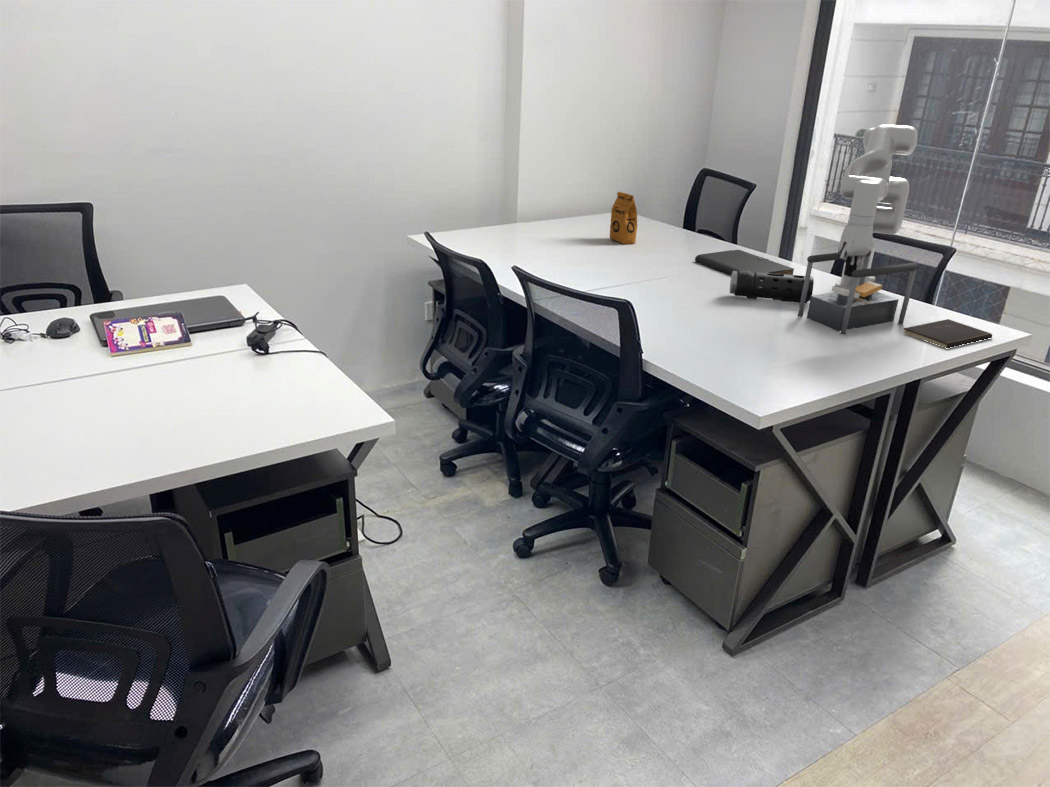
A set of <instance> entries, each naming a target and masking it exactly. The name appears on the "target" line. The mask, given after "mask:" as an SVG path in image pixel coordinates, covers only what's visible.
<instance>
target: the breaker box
mask: <svg viewBox="0 0 1050 787" xmlns="http://www.w3.org/2000/svg"><path fill="white" fill-rule="evenodd" d="M899 300H900V299H899V298H896V297H893V296H890V295H887V294H884V293H881V292H879V291H877V292H875V293H872V294H870V295H868V296H866V297H862V296H859V298H855V297H854V298H853V303H852V307H851V312H850V317H849V321H848V326H847V330H854V329H859V328H865V327H866V328H867V327H869V326H876V325H881V324H889V323H893V322H894V320H895V316H896V312H897V308H898V304H899ZM847 301H848V296H845V295H841V294H838V293H836V292H833V291H832V292H827V293H819V294H812V296H811V298H810V301H809V304H808V310H807V314H806V319H808V320H811V321H813V322H815V323H817V324H820V325H822V326H825V327H827V328H829V329H832V330H833V331H836V332H841V328H842V324H843V319H844V315H845V310H846V305H847ZM847 330H846V331H847Z"/></svg>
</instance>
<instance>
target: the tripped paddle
mask: <svg viewBox="0 0 1050 787" xmlns="http://www.w3.org/2000/svg"><path fill="white" fill-rule="evenodd" d="M882 287H883V285H882V284H880V283H877V282H875V281H874V282H871V281H868V282H866V283H864V284H862V285H860V286H858V287H856V289H855V292H858V293H860V295H859V296H862V297H866V296H868V295H870V294H872V293H875V292H879V291H880V290H882Z"/></svg>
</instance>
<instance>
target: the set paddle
mask: <svg viewBox="0 0 1050 787" xmlns="http://www.w3.org/2000/svg"><path fill="white" fill-rule="evenodd" d="M830 291H831V292H832V293H833V292H836V293H838V294H841V295H845V296H849V291H850V290H849V289H844V288H839V287H836V286H832V287H831V290H830ZM859 295H860V293H858V292H855V294H854V297H855V298H859Z"/></svg>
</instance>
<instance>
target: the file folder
mask: <svg viewBox="0 0 1050 787" xmlns="http://www.w3.org/2000/svg"><path fill="white" fill-rule="evenodd" d="M694 261H695V262H696V263H698V264H700V263H701V264H700V265H704V266H705V265H706V266H705V267H708V268H711V269H714V270H716V271H718V272H722V273H724V274H727V275H729V276H731V275H732V271H737V270H749V271H751V273H755V272H764V273H775V274H788V275H794V271H795V268H794V267H790V266H787V265H784V264H781V263H779V262H777V261H773V260H770V259H768V258H764V256H763V257H762V256H758V255H756V254H753V253H750V252H747V251H745V250H742V249H734V250H732V249H731V250H730V249H729V250H724V251H717V252H709V253H702V254H697V255H696V256H695V258H694Z"/></svg>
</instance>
